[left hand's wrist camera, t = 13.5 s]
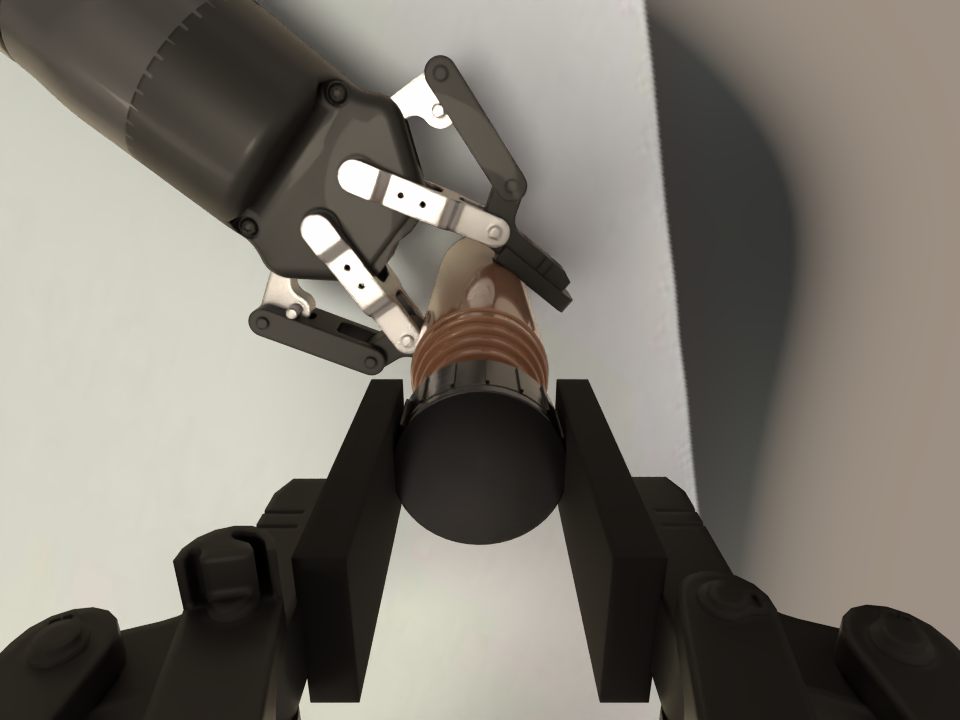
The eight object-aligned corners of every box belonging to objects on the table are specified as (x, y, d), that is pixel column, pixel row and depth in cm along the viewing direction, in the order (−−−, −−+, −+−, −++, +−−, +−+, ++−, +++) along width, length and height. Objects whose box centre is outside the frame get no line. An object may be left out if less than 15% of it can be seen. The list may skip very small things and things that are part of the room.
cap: (450, 522, 16) (446, 571, 14) (370, 403, 14) (354, 440, 13) (585, 459, 15) (599, 502, 13) (513, 328, 14) (517, 357, 12)
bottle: (443, 230, 31) (392, 361, 13) (524, 239, 31) (590, 383, 13) (436, 308, 32) (380, 528, 14) (513, 317, 32) (557, 545, 14)
